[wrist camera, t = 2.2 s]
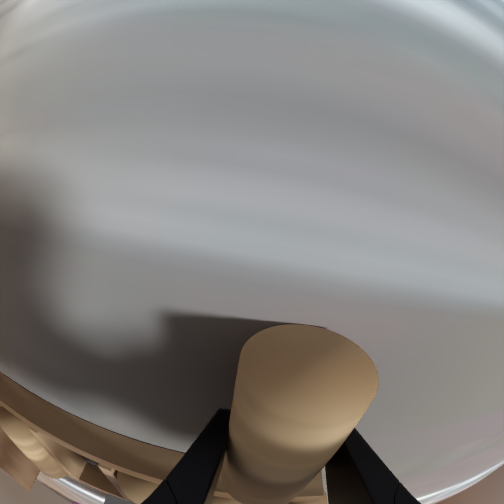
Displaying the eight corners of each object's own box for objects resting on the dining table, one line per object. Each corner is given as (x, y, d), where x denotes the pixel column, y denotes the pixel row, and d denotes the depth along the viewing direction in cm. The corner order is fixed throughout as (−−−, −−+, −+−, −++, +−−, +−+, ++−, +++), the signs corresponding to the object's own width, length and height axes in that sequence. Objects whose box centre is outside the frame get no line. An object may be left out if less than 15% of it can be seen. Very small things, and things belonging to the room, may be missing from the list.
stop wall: (52, 447, 14) (29, 491, 9) (37, 438, 14) (13, 479, 9) (6, 376, 11) (-37, 429, 5) (-9, 365, 11) (-50, 413, 5)
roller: (301, 445, 10) (306, 508, 7) (225, 439, 10) (216, 504, 7) (358, 329, 8) (396, 417, 4) (244, 317, 8) (232, 416, 4)
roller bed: (289, 509, 14) (289, 542, 11) (48, 445, 14) (34, 470, 11) (333, 465, 11) (340, 517, 8) (1, 373, 11) (-23, 402, 8)
